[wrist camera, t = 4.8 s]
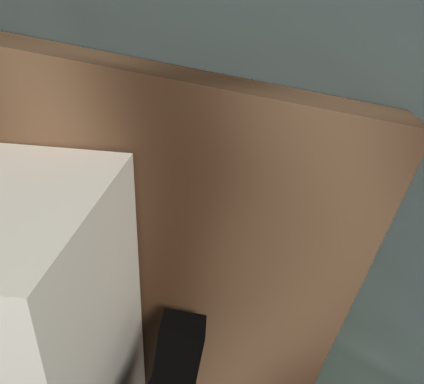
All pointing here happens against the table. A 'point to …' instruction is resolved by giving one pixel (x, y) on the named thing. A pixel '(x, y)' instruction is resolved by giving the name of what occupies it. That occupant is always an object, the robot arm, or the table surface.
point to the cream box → (68, 267)
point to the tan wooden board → (228, 194)
